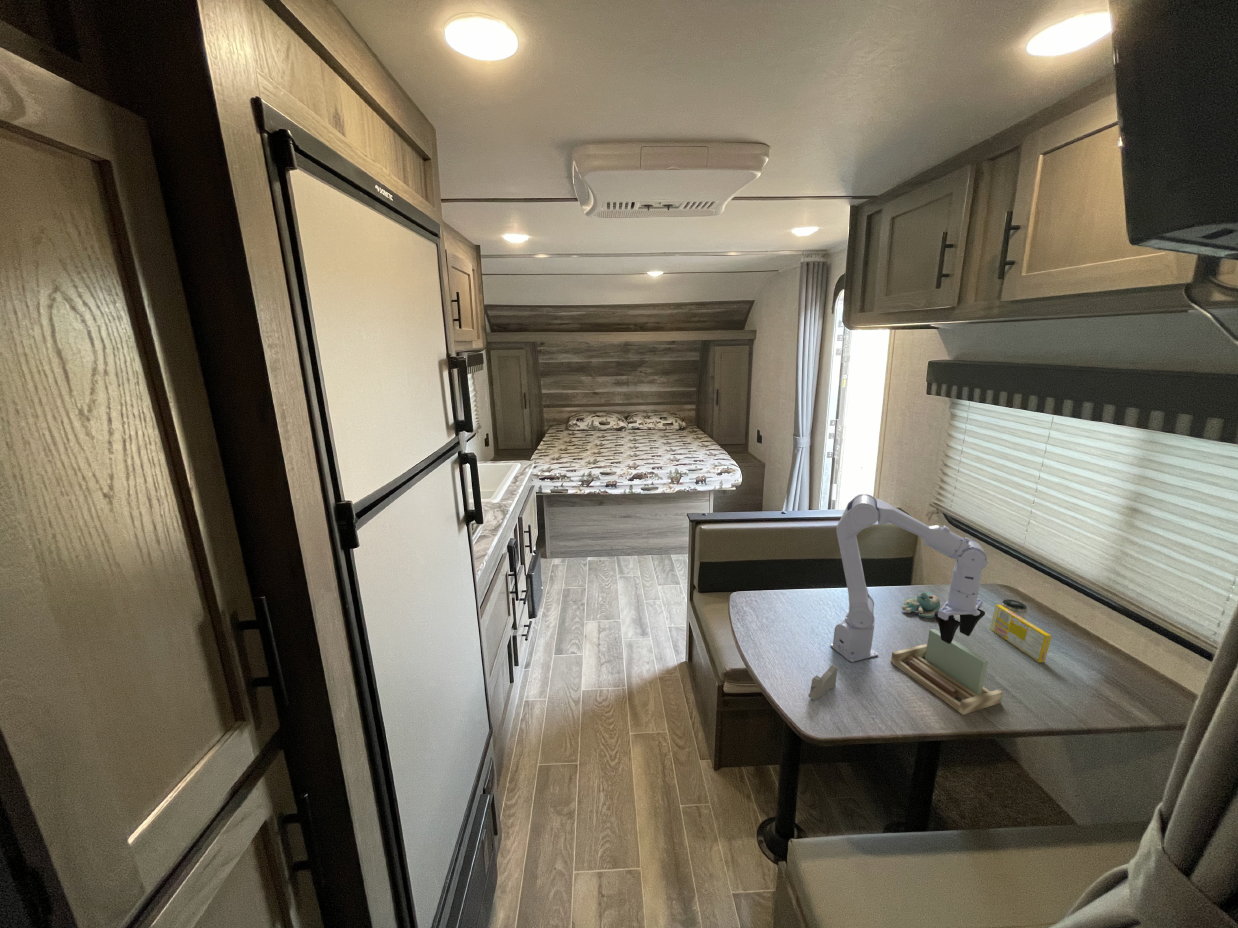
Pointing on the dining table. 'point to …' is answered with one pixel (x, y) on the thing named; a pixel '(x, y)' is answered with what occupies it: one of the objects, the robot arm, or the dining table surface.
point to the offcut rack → (968, 697)
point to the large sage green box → (956, 662)
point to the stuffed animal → (922, 604)
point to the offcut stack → (933, 679)
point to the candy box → (1020, 633)
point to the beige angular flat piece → (823, 683)
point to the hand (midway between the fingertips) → (955, 637)
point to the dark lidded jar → (1015, 607)
